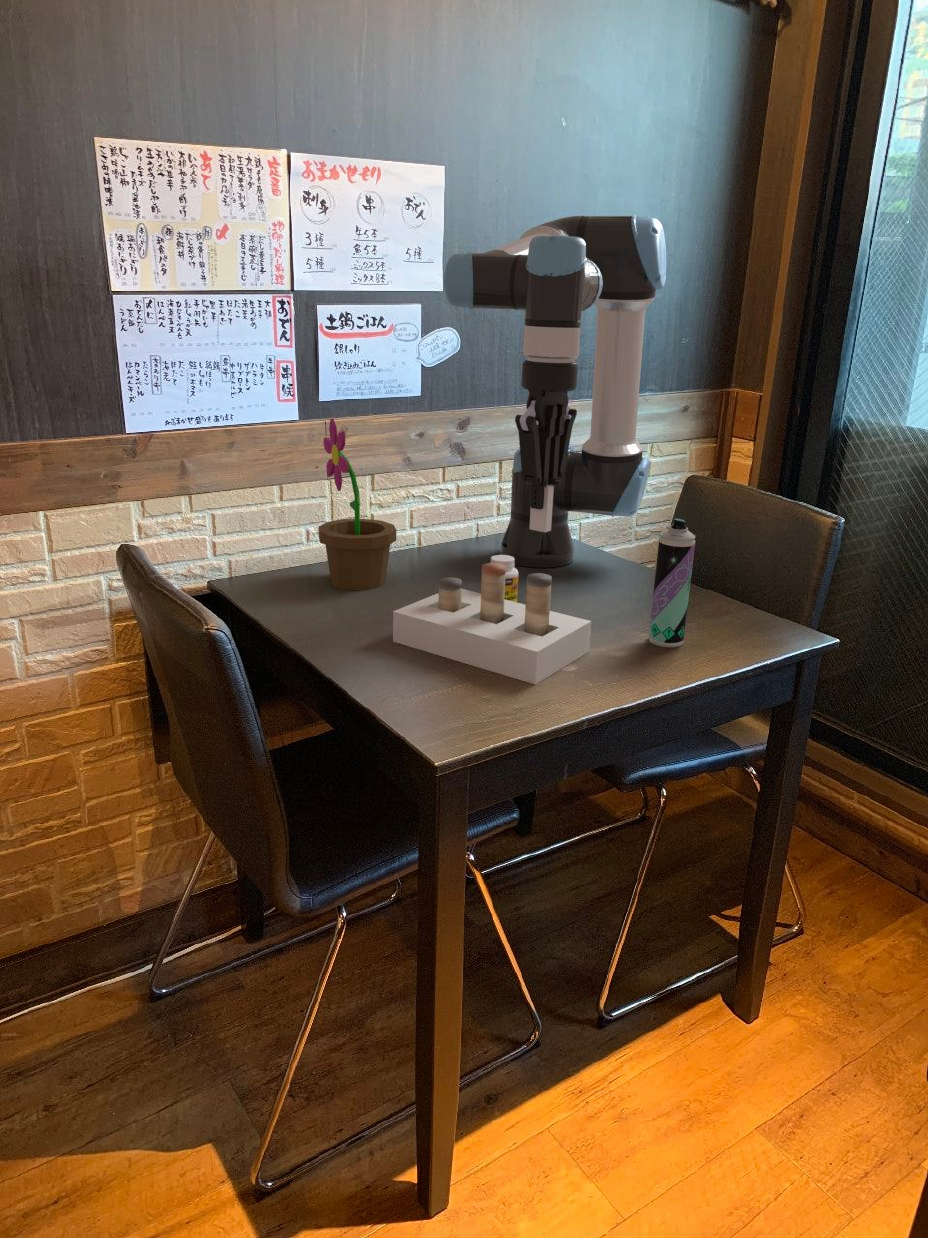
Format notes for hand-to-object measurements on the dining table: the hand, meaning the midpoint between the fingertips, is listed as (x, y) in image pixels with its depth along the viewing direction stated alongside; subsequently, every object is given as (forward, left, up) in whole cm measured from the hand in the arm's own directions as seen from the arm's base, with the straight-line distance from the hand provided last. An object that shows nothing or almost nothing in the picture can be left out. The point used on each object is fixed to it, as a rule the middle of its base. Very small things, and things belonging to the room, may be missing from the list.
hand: (540, 529), depth 133 cm
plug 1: (0, -16, -20) cm, 26 cm away
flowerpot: (-12, -45, -20) cm, 51 cm away
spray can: (-20, +13, -20) cm, 31 cm away
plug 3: (0, 0, -16) cm, 16 cm away
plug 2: (0, -8, -16) cm, 18 cm away
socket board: (0, -8, -20) cm, 22 cm away
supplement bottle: (-13, -15, -20) cm, 28 cm away
